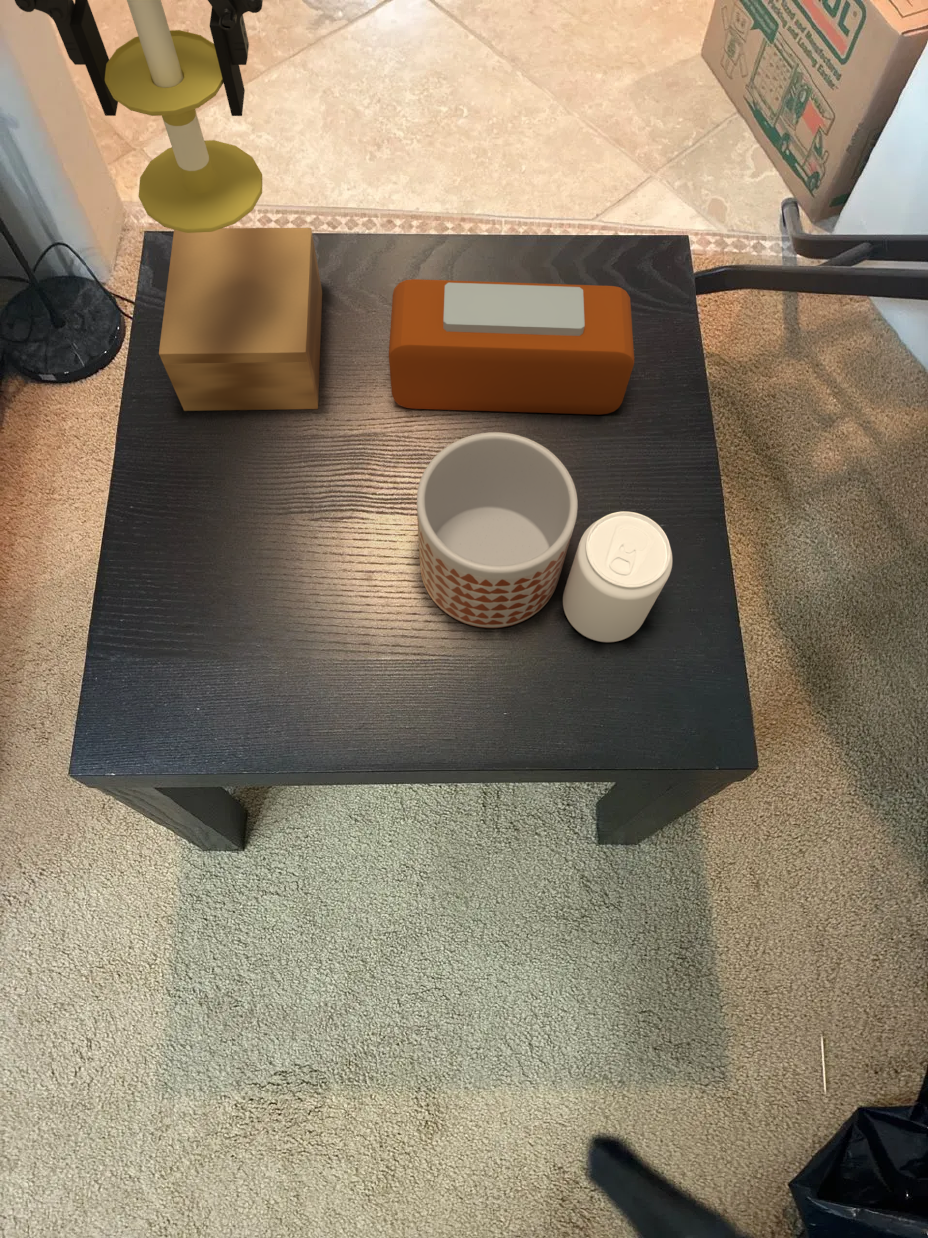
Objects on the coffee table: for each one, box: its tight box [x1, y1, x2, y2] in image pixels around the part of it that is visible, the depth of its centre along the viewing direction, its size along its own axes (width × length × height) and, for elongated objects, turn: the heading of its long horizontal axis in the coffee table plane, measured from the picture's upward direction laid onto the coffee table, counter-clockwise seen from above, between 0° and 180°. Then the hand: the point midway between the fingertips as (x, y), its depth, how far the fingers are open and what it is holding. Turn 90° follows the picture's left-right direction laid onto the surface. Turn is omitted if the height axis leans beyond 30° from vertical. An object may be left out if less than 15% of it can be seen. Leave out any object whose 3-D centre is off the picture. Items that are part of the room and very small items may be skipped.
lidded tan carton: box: [158, 227, 323, 412], centre depth 90 cm, size 14×16×9 cm
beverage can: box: [562, 511, 673, 643], centre depth 78 cm, size 8×8×12 cm
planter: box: [416, 431, 579, 629], centre depth 79 cm, size 14×14×13 cm
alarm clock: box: [388, 278, 635, 416], centre depth 89 cm, size 24×8×11 cm, turn 89°
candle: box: [105, 0, 263, 233], centre depth 58 cm, size 10×10×27 cm
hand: (175, 102), depth 64 cm, fingers closed on candle, 8 cm apart
